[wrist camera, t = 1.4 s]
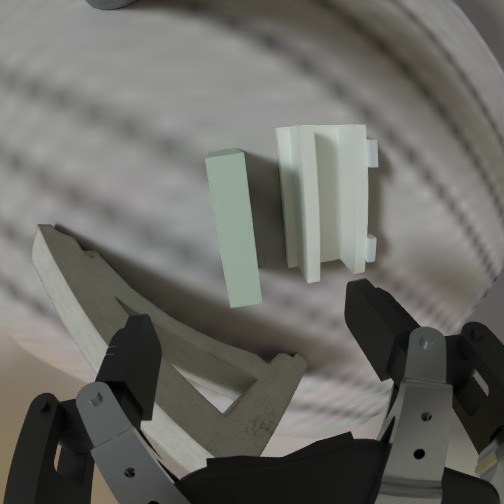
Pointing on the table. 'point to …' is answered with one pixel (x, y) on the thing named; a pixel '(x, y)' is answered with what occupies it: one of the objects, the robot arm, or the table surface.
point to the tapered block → (234, 225)
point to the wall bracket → (169, 359)
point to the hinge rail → (326, 195)
